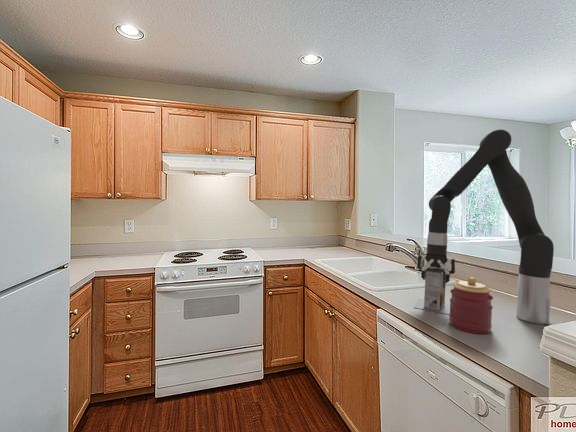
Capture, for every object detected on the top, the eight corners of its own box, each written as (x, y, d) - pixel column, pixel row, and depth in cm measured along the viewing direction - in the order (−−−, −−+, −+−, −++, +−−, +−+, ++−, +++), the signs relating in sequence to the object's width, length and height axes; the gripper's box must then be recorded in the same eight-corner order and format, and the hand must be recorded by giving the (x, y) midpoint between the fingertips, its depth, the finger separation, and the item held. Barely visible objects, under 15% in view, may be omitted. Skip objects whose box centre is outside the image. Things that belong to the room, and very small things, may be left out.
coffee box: (429, 301, 131) (430, 265, 130) (445, 305, 127) (446, 267, 126) (423, 307, 124) (424, 268, 123) (440, 310, 120) (441, 271, 119)
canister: (501, 333, 100) (503, 281, 99) (468, 336, 97) (471, 283, 97) (470, 318, 113) (472, 272, 112) (440, 320, 110) (442, 273, 109)
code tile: (453, 305, 128) (453, 304, 128) (452, 315, 116) (452, 314, 116) (418, 299, 135) (418, 298, 135) (413, 308, 123) (413, 307, 123)
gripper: (456, 243, 124) (454, 282, 125) (420, 240, 131) (418, 276, 132) (456, 245, 117) (453, 286, 118) (417, 242, 125) (415, 280, 126)
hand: (434, 281), depth 125 cm, fingers open, 8 cm apart
